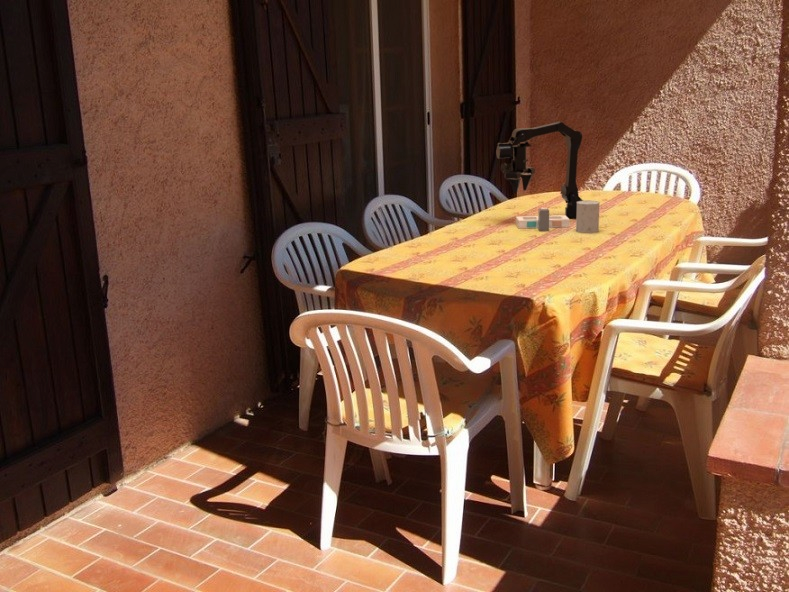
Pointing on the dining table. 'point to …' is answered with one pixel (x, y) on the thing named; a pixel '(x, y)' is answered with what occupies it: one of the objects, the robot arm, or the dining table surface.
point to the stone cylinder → (587, 216)
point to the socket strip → (533, 221)
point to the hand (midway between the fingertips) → (520, 191)
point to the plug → (543, 219)
